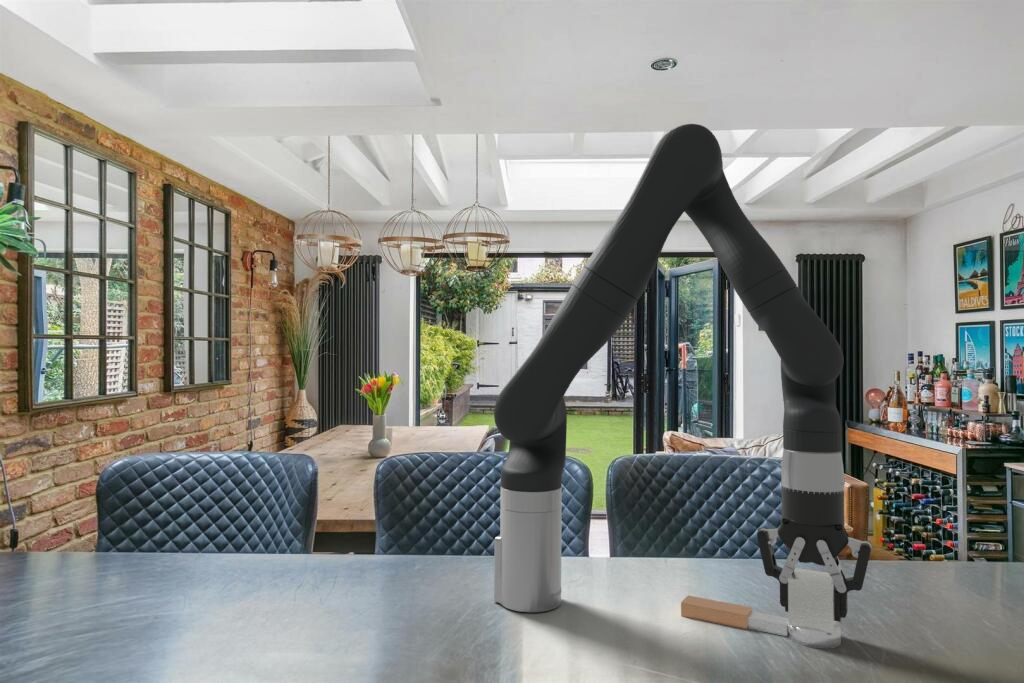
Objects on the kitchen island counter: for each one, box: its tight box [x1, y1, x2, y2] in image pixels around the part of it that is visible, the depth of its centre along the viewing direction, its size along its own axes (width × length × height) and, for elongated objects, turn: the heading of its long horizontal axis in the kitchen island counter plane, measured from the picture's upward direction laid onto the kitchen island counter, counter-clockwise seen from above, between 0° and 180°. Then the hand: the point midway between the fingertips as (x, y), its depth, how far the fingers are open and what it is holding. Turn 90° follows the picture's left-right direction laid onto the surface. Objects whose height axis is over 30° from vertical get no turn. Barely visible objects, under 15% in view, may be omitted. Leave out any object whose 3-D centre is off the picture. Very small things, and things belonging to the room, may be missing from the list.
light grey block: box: [787, 567, 838, 634], centre depth 87 cm, size 5×5×6 cm
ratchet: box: [680, 594, 842, 650], centre depth 90 cm, size 20×6×5 cm, turn 59°
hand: (813, 614), depth 86 cm, fingers closed on light grey block, 5 cm apart
